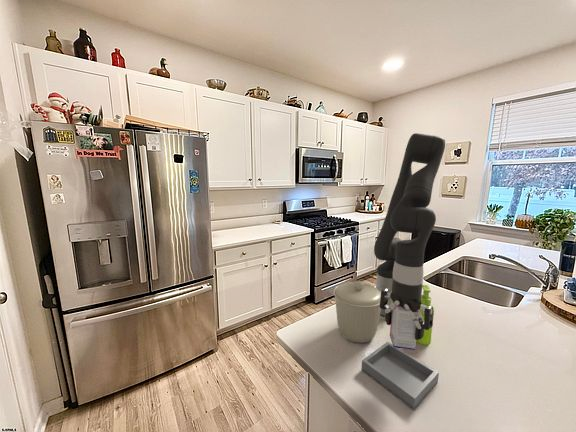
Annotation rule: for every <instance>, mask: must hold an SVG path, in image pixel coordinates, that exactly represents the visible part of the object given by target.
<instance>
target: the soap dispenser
mask: <svg viewBox="0 0 576 432" xmlns="http://www.w3.org/2000/svg"><path fill="white" fill-rule="evenodd" d="M422 292H423V293H422V295H421V303H422V304H423V305H425V306H433V305H432V303H431V302H432V297H431V296H430V293H431V289H430V287H429V285H427V284H422ZM433 308H434V310H433V317H434V316H435V314H434V313H435V307H434V306H433ZM419 311H420V312H421V314H422V318H423V320H424V314H423V311H422V309H419ZM432 333H433V326H432V327H431V328H430V329H429V330H425V329H424V336H423V338H421V339H419V340H416V343H418V344H420V345H424V346H425V345H430V344H431V341H432Z"/></svg>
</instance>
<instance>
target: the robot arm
mask: <svg viewBox="0 0 576 432" xmlns="http://www.w3.org/2000/svg"><path fill="white" fill-rule="evenodd" d="M445 149H446V139H445V138H444V137H442V136H440V135H431V134H427V133H425V134H424V133H413V134H411V136H410V138H409V139H408V142H407V145H406V147H405V150H404V151H405V152H404V155H403V159H402V164H401V165H400V166H401V167H400V171H399V175H398V178H397V181H396V184H395V186H394V190H393V192H392V195H391V198H390V202H389V205H388V209H387V211H386V214H385V218H384V221H383V224H382V227H381V228H380V231H379V233H378V235H377V238H376V239H375V242H374V245H373V246H374V247H373V253H374V256H375V258H376V259H377V260H379V261H384V262H383V263H380V264H379V265H377V268H376V281H375V288H376V289H378V290H379V291H381V298H380V308H381V311H380V316H382V317H385V319H384V320H385V323H386V325H387V326H391V317H392V310H393V309H394V308H395V305H396V306H398V305H399V306H401V307H403V308H405V309H406V310H407V311H409V312H411V313H410V317H411V319H412V320H413V321H414V322H415V324H416V326H417V327H416V332H415V339H416V340H419V339H421V338H423V336H424V329H425V330H429V329H430V328H431V327H432V328H433V325H434V324H433V323H434V316H433V310H434V311H435V307H434V306H433V305H432V306H425V305H423V304H422V303H421V295H423V293H422V292H423V287H422V285H424V284H423V283H424V281H423V280H424V260H425V251H426V246H427V243H428V241H429V238H430V235H431V234H432V231H433V230H434V227H435V224H436V222H437V221H436V220H437V219H436V218H437V217H436V214H435V212H434V210H432V209H431V208H429V207H428V206H429V205H430V203H431V200H432V193H433V187H434V183H435V179H436V176H437V173H438V172H439V168H440V166H441V162H442V159H443V157H444V152H445ZM413 163H416V164H417V163H418V164H419V163H420V164H424V165H425V166H423V167H421V168H419V170H417V171H415V172H414V173H413V171H412V164H413ZM399 232H400V233H407V234H415V235H417V237H415V238H412V239H400V238H399V237H395V236H396V235H397V233H399ZM433 307H434V308H433ZM419 309H422V311H423V314H424V320H423V318H422V314H421V312H420V311H419ZM416 311H418V312H419V317H418V316H415V314H414V313H413V312H416Z"/></svg>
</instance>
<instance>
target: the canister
mask: <svg viewBox="0 0 576 432" xmlns="http://www.w3.org/2000/svg"><path fill="white" fill-rule="evenodd" d="M332 293H333V295H334V298H335V309H336V311H335V312H336V321H337V327H338V331H339V333H340V334H341V335H342V336H343V338H345V339H346V340H348V341H350V342H353V343H356V344H357V343H358V344H363V343H364V344H365V343H368V342H370V341H372V340H373V339H374V337H375V335H376V333H377V329H378V325H379V320H380V316H381V315H380V311H381V308H380V298H381V291H379V290H378V289H376V286H373V285H371V284H368V283H364V282H363V281H360V280H356V281H348V282H343V283H341V284H337V286H335V287H334V288H333V292H332Z"/></svg>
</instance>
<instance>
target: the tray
mask: <svg viewBox="0 0 576 432" xmlns="http://www.w3.org/2000/svg"><path fill="white" fill-rule="evenodd" d="M361 371H362V372H363V373H364V374H366V375H367V376H368V377H369V378H371V379H372V380H373V381H374V382H376V383H378V385H380V386H381V387H383V388H384V389H385V390H386V391H388V392H389V393H391V394H392V395H393V397H396V398H397V399H398V400H400V401H401V402H402V403H403V404H405V405H406V406H407V407H409V408H410V409H411V410H413V411H415V410H416V409H417V407H419V405H420V404H421V402H422V401H423V400H424V399H425V398H426V397H427V396H428V395H429V393H430V392H431V391H432V390H433V389H434V388H435V387H436V385H437V384H438V383H439V375H440V372H439V371H438V370H436V369H434V368H433V367H431V366H429V365H428V364H426V363H425V362H422V361H421V360H419V359H417V358H416V357H415V356H413V355H411V354H409V353H407V352H406V351H404V350H403V349H402V348H394V347H393V344H392V342H389V341H386V342H385V343H384V344H382V345H381V346H379V347H378V348H376V349H375V350H374V351H372V352H371V353H370V354H369V355H367V356H366V357H365V358H363V359H362V360H361Z"/></svg>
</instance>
